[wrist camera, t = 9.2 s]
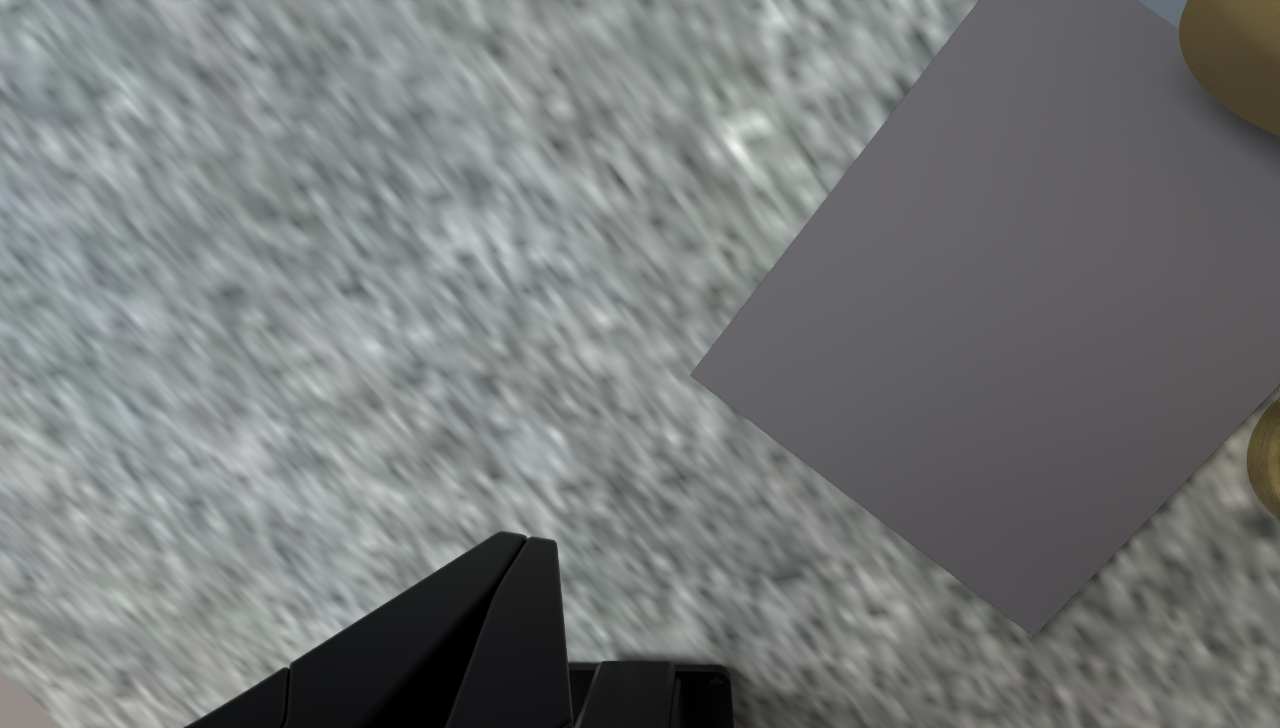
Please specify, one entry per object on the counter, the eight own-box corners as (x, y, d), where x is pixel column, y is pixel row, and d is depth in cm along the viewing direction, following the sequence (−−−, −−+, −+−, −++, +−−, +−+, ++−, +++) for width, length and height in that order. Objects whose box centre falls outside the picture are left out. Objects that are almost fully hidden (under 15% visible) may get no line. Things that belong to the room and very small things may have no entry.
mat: (1027, 630, 21) (1033, 636, 20) (691, 373, 21) (690, 375, 21) (1652, -14, 17) (1674, -21, 16) (1214, -305, 17) (1226, -320, 17)
